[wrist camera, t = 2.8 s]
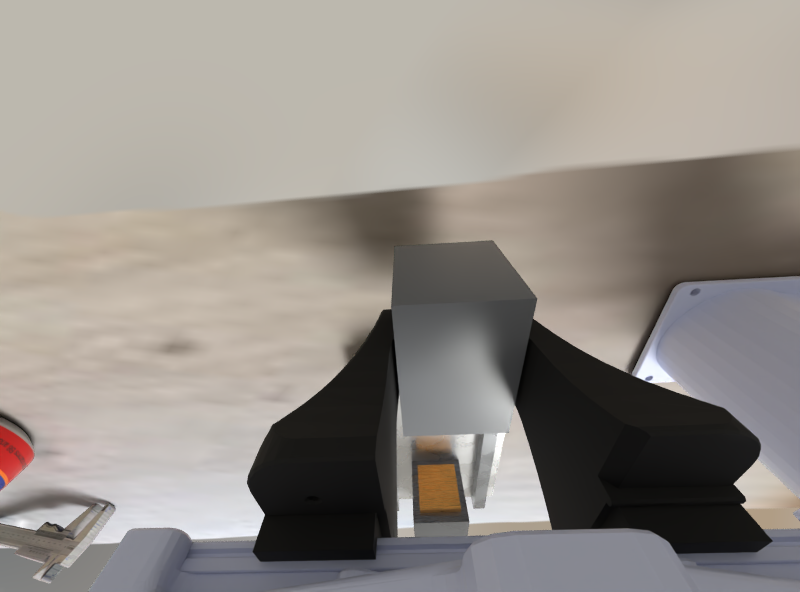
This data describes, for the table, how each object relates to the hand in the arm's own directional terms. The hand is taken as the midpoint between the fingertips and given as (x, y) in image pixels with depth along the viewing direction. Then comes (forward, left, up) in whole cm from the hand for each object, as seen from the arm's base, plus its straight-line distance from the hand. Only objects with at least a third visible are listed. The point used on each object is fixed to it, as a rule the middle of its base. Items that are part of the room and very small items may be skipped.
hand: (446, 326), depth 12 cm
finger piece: (0, 0, -1) cm, 1 cm away
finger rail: (0, +15, -5) cm, 16 cm away
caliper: (+44, +27, -6) cm, 52 cm away
